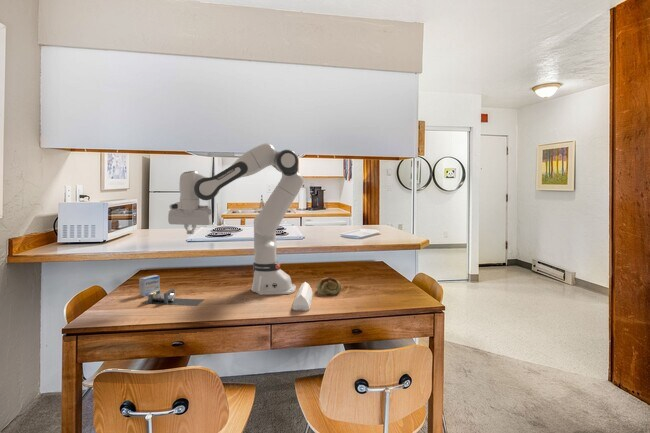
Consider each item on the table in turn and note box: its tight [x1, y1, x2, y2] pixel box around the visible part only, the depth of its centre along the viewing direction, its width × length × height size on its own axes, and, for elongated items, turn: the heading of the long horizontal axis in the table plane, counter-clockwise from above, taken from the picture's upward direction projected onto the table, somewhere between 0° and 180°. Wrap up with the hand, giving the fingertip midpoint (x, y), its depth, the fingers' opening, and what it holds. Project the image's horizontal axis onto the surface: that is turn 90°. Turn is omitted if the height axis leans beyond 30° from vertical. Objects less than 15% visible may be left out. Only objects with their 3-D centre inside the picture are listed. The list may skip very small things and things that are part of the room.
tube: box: [147, 292, 176, 301], centre depth 162 cm, size 11×3×3 cm, turn 86°
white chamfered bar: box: [291, 281, 314, 312], centre depth 163 cm, size 7×7×24 cm
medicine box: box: [138, 274, 161, 297], centre depth 172 cm, size 8×4×9 cm, turn 148°
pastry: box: [316, 277, 342, 296], centre depth 180 cm, size 14×12×8 cm
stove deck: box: [141, 287, 205, 307], centre depth 161 cm, size 25×9×5 cm, turn 86°
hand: (190, 234), depth 172 cm, fingers closed
